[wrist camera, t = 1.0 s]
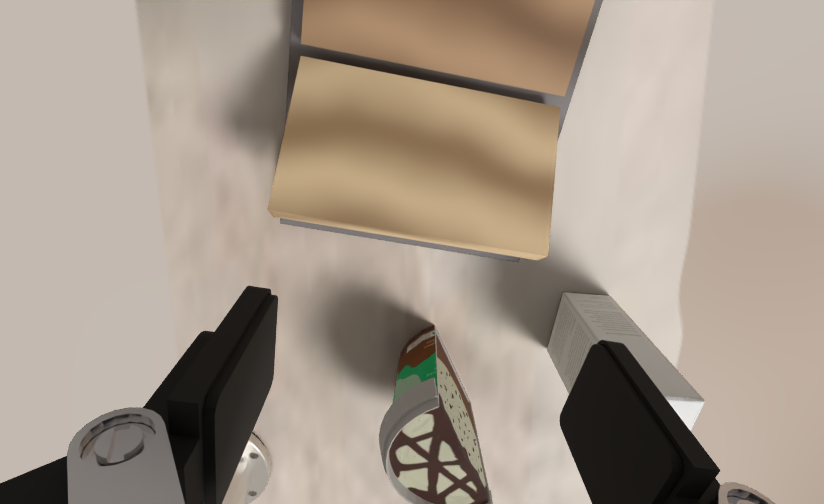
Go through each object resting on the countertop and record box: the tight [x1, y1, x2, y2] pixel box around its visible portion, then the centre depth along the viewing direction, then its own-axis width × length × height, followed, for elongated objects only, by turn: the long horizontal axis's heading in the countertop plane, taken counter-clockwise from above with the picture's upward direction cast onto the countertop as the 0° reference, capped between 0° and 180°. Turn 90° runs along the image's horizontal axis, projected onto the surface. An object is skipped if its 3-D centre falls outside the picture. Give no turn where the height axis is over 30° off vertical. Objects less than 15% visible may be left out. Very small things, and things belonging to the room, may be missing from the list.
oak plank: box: [268, 56, 560, 260], centre depth 25 cm, size 10×16×2 cm
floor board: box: [280, 0, 603, 262], centre depth 27 cm, size 20×18×2 cm
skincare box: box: [547, 292, 705, 431], centre depth 30 cm, size 6×4×12 cm
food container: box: [379, 325, 493, 504], centre depth 33 cm, size 12×6×10 cm, turn 22°
